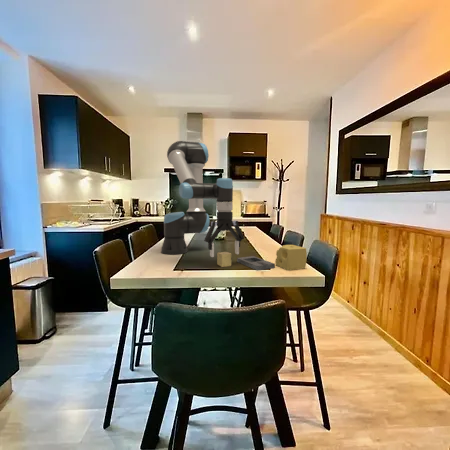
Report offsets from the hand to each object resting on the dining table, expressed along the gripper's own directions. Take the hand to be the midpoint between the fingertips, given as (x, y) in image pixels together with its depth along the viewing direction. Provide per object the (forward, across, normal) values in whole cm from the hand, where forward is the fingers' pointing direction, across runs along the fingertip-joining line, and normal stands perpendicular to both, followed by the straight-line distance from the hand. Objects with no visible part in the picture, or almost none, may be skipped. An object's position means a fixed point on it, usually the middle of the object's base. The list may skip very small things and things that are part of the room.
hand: (224, 255), depth 134 cm
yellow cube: (+5, 0, 0) cm, 5 cm away
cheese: (+6, +27, -16) cm, 32 cm away
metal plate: (+5, +14, -5) cm, 16 cm away
